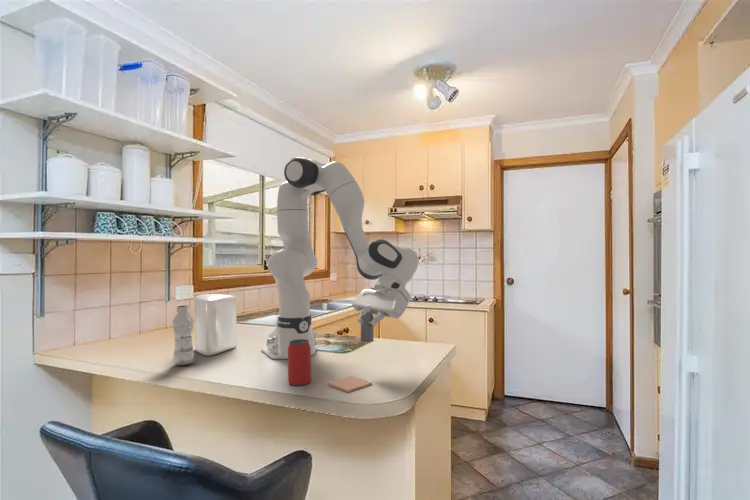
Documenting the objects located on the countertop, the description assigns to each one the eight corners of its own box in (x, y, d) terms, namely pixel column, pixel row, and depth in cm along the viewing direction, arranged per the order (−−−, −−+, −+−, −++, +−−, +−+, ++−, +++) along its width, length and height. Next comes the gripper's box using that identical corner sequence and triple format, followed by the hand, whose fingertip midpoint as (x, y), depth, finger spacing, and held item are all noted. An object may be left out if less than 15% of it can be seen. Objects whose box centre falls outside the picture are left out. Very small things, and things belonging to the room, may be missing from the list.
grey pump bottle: (358, 340, 125) (358, 305, 125) (367, 338, 128) (367, 304, 128) (366, 342, 122) (366, 306, 122) (376, 340, 125) (376, 305, 125)
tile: (327, 384, 115) (327, 382, 115) (351, 377, 121) (351, 375, 121) (347, 392, 108) (347, 390, 108) (372, 384, 115) (372, 382, 115)
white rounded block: (211, 357, 147) (210, 296, 147) (181, 354, 152) (179, 295, 151) (238, 347, 161) (237, 292, 161) (210, 344, 166) (209, 291, 166)
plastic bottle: (184, 368, 133) (183, 307, 133) (168, 366, 135) (167, 307, 135) (198, 363, 139) (197, 305, 139) (183, 361, 141) (182, 304, 141)
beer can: (289, 379, 120) (289, 339, 120) (312, 378, 121) (311, 338, 121) (286, 386, 114) (286, 344, 114) (310, 385, 114) (309, 343, 114)
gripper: (361, 281, 137) (339, 312, 131) (406, 285, 122) (383, 321, 116) (371, 293, 140) (349, 324, 134) (415, 299, 126) (393, 335, 119)
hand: (365, 323), depth 125 cm, fingers closed on grey pump bottle, 4 cm apart
